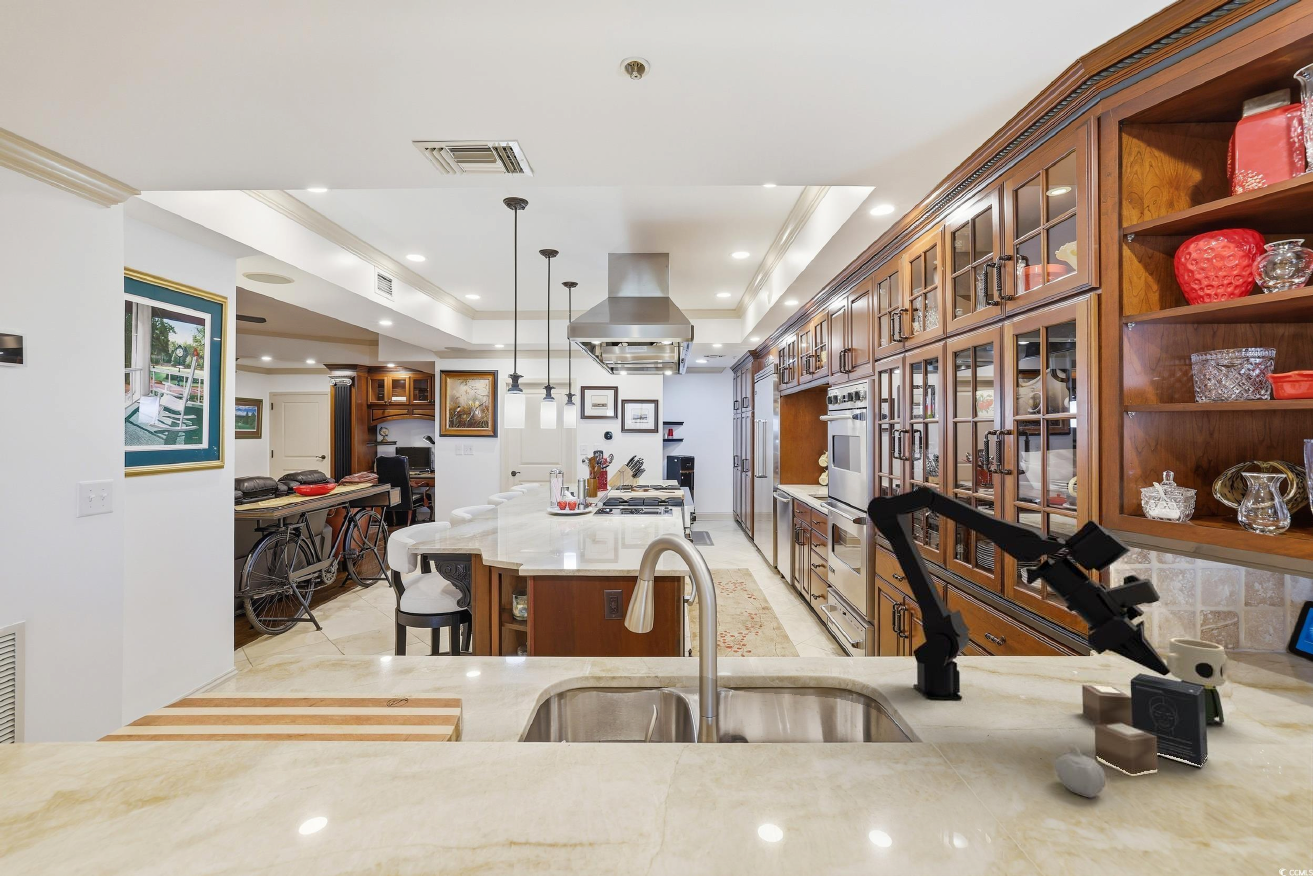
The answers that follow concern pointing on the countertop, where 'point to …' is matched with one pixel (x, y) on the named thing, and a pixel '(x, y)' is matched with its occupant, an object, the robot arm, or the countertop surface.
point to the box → (1171, 716)
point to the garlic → (1080, 773)
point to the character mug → (1200, 670)
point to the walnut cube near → (1126, 747)
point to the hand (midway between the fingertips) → (1167, 673)
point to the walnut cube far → (1106, 705)
